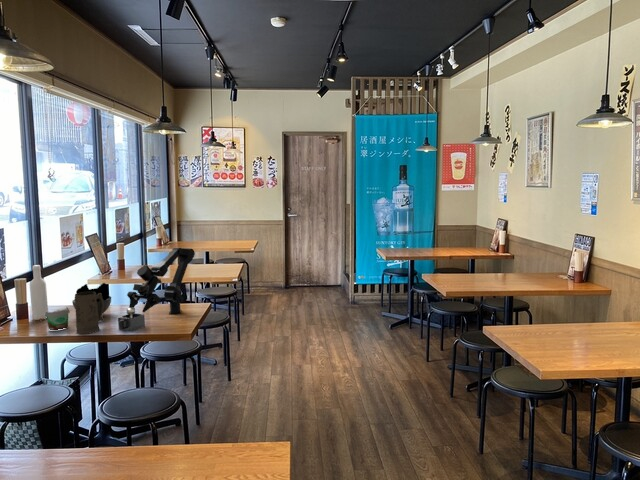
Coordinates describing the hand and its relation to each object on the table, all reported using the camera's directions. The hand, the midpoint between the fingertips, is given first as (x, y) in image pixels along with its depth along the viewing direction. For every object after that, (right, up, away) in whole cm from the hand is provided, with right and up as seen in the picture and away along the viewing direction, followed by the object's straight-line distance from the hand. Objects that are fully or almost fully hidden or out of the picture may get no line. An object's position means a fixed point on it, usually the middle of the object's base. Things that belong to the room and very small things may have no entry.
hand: (136, 311), depth 269 cm
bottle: (-60, -7, +20) cm, 64 cm away
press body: (-2, -8, -3) cm, 9 cm away
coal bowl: (-32, -6, +23) cm, 40 cm away
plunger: (-1, -8, -2) cm, 9 cm away
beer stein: (-21, -9, -4) cm, 24 cm away
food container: (-38, -9, -2) cm, 39 cm away
